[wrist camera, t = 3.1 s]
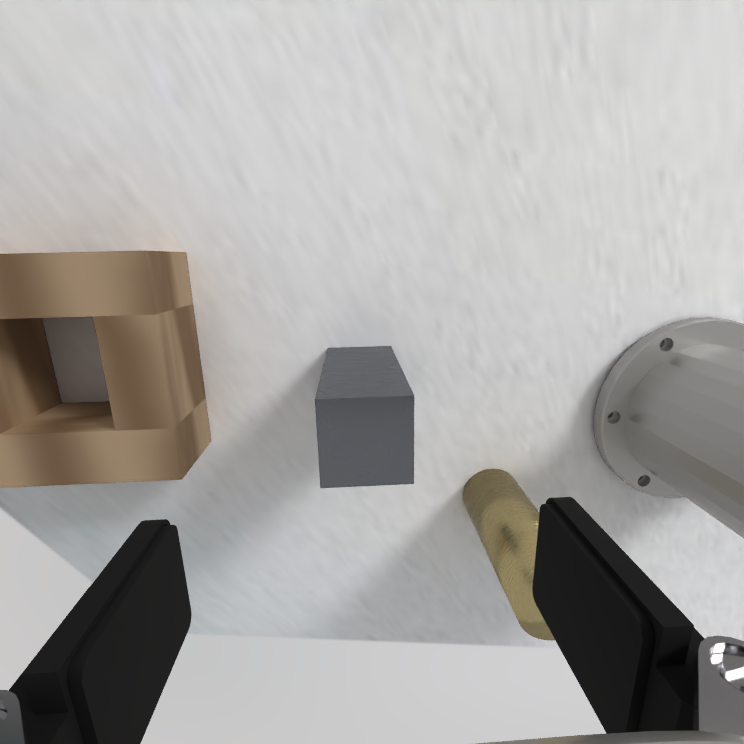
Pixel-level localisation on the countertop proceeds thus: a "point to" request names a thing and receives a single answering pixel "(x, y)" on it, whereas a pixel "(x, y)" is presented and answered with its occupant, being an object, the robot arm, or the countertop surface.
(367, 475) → the square bit
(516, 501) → the round bit
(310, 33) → the countertop surface
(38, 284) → the bore block
